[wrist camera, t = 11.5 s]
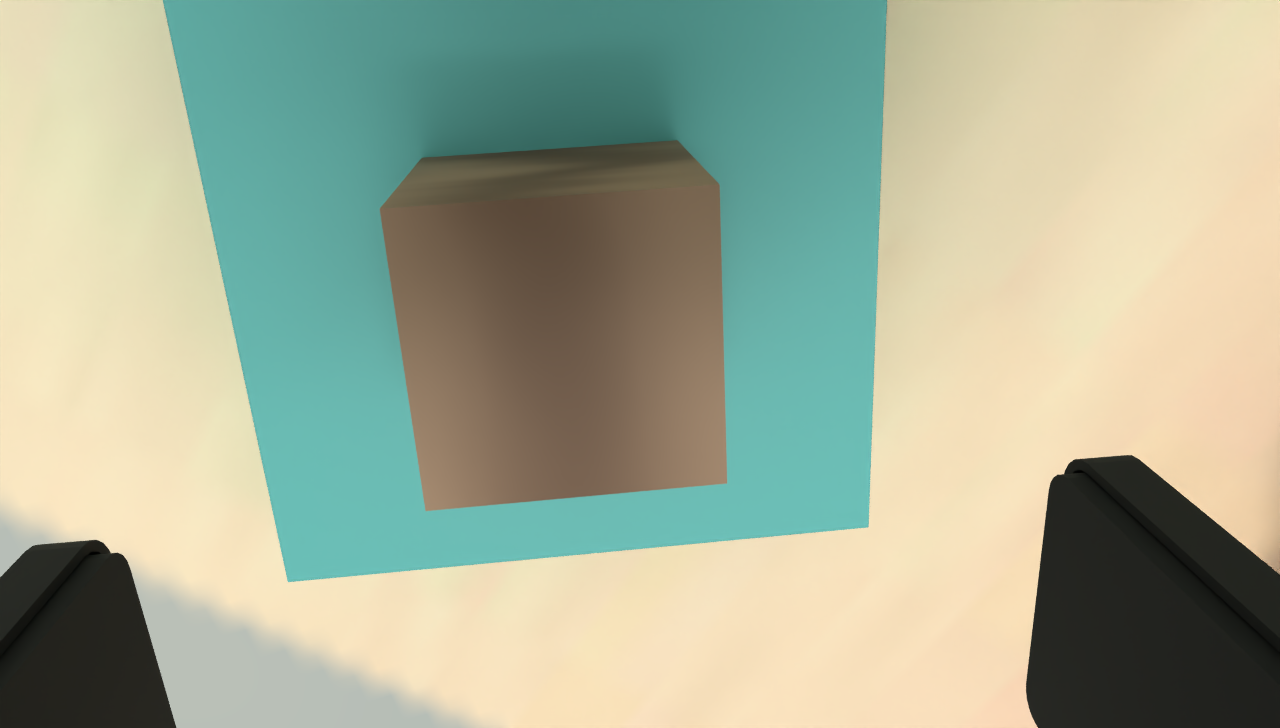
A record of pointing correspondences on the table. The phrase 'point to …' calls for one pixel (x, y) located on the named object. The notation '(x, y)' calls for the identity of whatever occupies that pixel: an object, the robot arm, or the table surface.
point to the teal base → (520, 121)
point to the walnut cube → (560, 322)
